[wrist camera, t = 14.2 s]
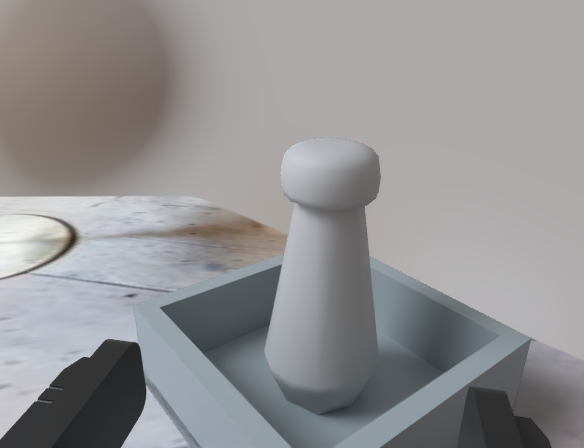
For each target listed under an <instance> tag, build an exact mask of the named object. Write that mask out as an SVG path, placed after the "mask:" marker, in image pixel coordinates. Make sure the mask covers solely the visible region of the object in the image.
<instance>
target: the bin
mask: <svg viewBox="0 0 584 448" xmlns="http://www.w3.org/2000/svg"><path fill="white" fill-rule="evenodd" d="M283 258H284V254H283V255H280V256H277V257H274V258H271V259H268V260H265V261H262V262H259V263H256V264H253V265H250V266H247V267H244V268H241V269H238V270H236V271H233V272H230V273H227V274H224V275H221V276H218V277H215V278H212V279H209V280H206V281H203V282H200V283H197V284H194V285H191V286H188V287H186V288H183V289H180V290H177V291H174V292H171V293H168V294H165V295H162V296H159V297H156V298H153V299H150V300H147V301H144V302H141V303H138V304H136V305H133V307H134V314H135V322H136V329H137V336H138V344H139V346H140V349H141V356H142V363H143V370H144V377H145V384H146V385H147V386H148V388H149V389H150V391H151V392H152V393H153V395H154V396H155V398H156V399H157V400H158V402H159V403H160V405H161V406H162V407H163V409H164V410H165V412H166V413H167V414H168V416H169V417H170V419H171V420H172V421H173V423H174V424H175V426H176V427H177V428H178V430H179V431H180V433H181V434H182V435H183V437H184V438H185V439H186V441H187V442H188V444H189V445H190V446H191V448H458V438H459V432H460V427H461V422H462V417H463V412H464V407H465V401H466V396H467V392H468V389H469V387H470V386H473V387H481V388H489V389H497V390H504V391H505V392H506V393H507V396H508V399H509V402H510V405H511V408H512V412H513V408H514V404H515V400H516V396H517V392H518V388H519V385H520V381H521V377H522V373H523V369H524V365H525V361H526V357H527V353H528V349H529V345H530V341H531V338H530V337H528V336H526V335H524V334H522V333H520V332H518V331H516V330H514V329H512V328H510V327H508V326H506V325H504V324H502V323H500V322H498V321H496V320H494V319H493V318H491V317H489V316H487V315H485V314H483V313H480V312H479V311H477V310H475V309H473V308H470V307H469V306H467V305H465V304H463V303H461V302H459V301H457V300H455V299H453V298H451V297H449V296H447V295H445V294H443V293H441V292H439V291H437V290H435V289H433V288H431V287H430V286H428V285H426V284H424V283H422V282H420V281H418V280H416V279H414V278H412V277H410V276H407V275H406V274H404V273H402V272H400V271H398V270H396V269H394V268H392V267H390V266H388V265H386V264H384V263H382V262H380V261H378V260H376V259H374V258H373V257H371V256H369V258H370V269H371V279H372V290H373V300H374V311H375V321H376V332H377V343H378V357H379V362H378V365H377V369H376V370H375V372H374V373H373V375H372V376H371V377H370V379H369V380H368V382H367V383H366V385H365V386H364V388H363V389H362V391H361V392H360V394H359V395H358V397H357V398H356V400H355V401H354V403H353V405H352V406H351V407H347V408H343V409H340V410H336V411H332V412H328V413H324V414H320V415H316V414H314V413H312V412H310V411H308V410H306V409H304V408H302V407H300V406H297V405H295V404H293V403H291V402H289V401H287V400H286V398H285V397H284V395H283V393H282V391H281V390H280V388H279V386H278V384H277V382H276V381H275V379H274V377H273V375H272V373H271V370H270V368H269V366H268V363H267V361H266V357H265V353H264V349H265V345H266V340H267V336H268V331H269V326H270V321H271V316H272V312H273V307H274V302H275V297H276V292H277V287H278V282H279V278H280V273H281V268H282V263H283Z"/></svg>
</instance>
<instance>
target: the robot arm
mask: <svg viewBox="0 0 584 448" xmlns="http://www.w3.org/2000/svg"><path fill="white" fill-rule="evenodd" d="M145 400H146V384H145V377H144V370H143V363H142V356H141V349H140V346H139V344H138V343H136V342H128V341H120V340H113V339H108V340H105V341H104V342H103V343H102V344H101V345H100V347H99V348H98V349H97V350H96V351H95V352H94V354H93V355H92V356H91V357H90V358H88V357H83V358H81V359H79V360H78V361H76V362H75V363H73V364H72V365H70V366H68V367H67V368H65V369H64V370H63V371H62V372H61V373H60V374H59V375H58V376H57V377H56V379H55V380H54V381H53V382H52V383H51V384H50V387H49V389H48V388H47V389H46V390H45V391H44V392H43V393H42V394H41V395H40V396H39V397H38V401H37V402H34V403H33V404H32V405H31V406H30V407H29V409H28V410H27V411H26V412H25V413H24V414H23V415H22V416H21V417H20V419H19V420H18V421H17V422H16V423H15V424H14V425H13V426H12V427H11V429H10V430H9V431H8V432H7V433H6V434H5V435H4V436H3V437H2V438H1V440H0V448H121V446H122V445H123V443H124V441H125V440H126V438H127V437H128V435H129V433H130V432H131V430H132V428H133V427H134V425H135V423H136V422H137V420H138V418H139V417H140V415H141V413H142V411H143V408H144V405H145ZM458 448H551V446H550V443H549V440H548V438H547V437H546V436H545V435H544V433H543V432H542V431H541V430H540V429H539V428H538V426H537V425H536V424H535V423H534V422H533V420H532V419H531V418H525V417H517V416H514V415H513V412H512V408H511V405H510V402H509V399H508V396H507V393H506V392H505V391H504V390H497V389H489V388H481V387H473V386H470V387H469V389H468V392H467V396H466V401H465V407H464V412H463V417H462V422H461V427H460V432H459V438H458Z"/></svg>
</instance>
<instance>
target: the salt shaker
mask: <svg viewBox="0 0 584 448" xmlns="http://www.w3.org/2000/svg"><path fill="white" fill-rule="evenodd" d="M380 178H381V177H380V166H379V157H378V155H377V154H376V153H375V152H374V150H373V149H372V148H370V147H368V146H366V145H364V144H362V143H359V142H356V141H351V140H347V139H338V138H321V139H313V140H307V141H303V142H300V143H297V144H295V145H293V146H292V147H291V148H290V149H289V150H288V151H286V153H285V155H284V157H283V162H282V168H281V187H282V189H283V192H284V194H285V196H286V197H288V199H289V200H290V201H291V202H294V203H295V205H294V210H293V214H292V220H291V224H290V229H289V234H288V239H287V244H286V248H285V253H284V258H283V263H282V268H281V273H280V278H279V282H278V287H277V292H276V297H275V302H274V307H273V312H272V316H271V321H270V326H269V331H268V336H267V340H266V345H265V349H264V353H265V357H266V361H267V363H268V366H269V368H270V370H271V373H272V375H273V377H274V379H275V381H276V382H277V384H278V386H279V388H280V390H281V391H282V393H283V395H284V397H285V398H286V400H287V401H289V402H291V403H293V404H295V405H297V406H300V407H302V408H304V409H306V410H308V411H310V412H312V413H314V414H316V415H320V414H324V413H328V412H332V411H336V410H340V409H343V408H347V407H351V406H352V405H353V403H354V401H355V400H356V398H357V397H358V395H359V394H360V392H361V391H362V389H363V388H364V386H365V385H366V383H367V382H368V380H369V379H370V377H371V376H372V375H373V373H374V372H375V370H376V369H377V365H378V362H379V357H378V343H377V332H376V321H375V311H374V300H373V290H372V279H371V269H370V258H369V248H368V239H367V227H366V217H365V206H366V205H368V204H369V203H370V202H372V201H373V200H374V199H376V197H377V194H378V191H379V185H380Z"/></svg>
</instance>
